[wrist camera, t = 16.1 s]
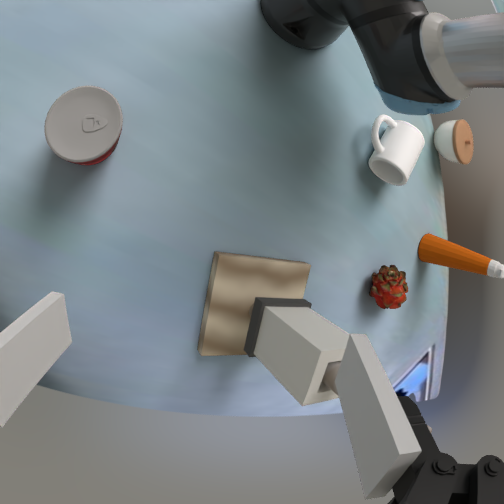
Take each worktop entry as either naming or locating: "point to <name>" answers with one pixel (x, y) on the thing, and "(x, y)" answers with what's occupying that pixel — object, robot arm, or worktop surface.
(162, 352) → the worktop surface
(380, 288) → the dragon fruit
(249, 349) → the thin dark grey plate
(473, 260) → the spray bottle
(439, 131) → the lidded jar
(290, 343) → the sleeve
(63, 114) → the canned food
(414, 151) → the mug
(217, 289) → the pipe stand
